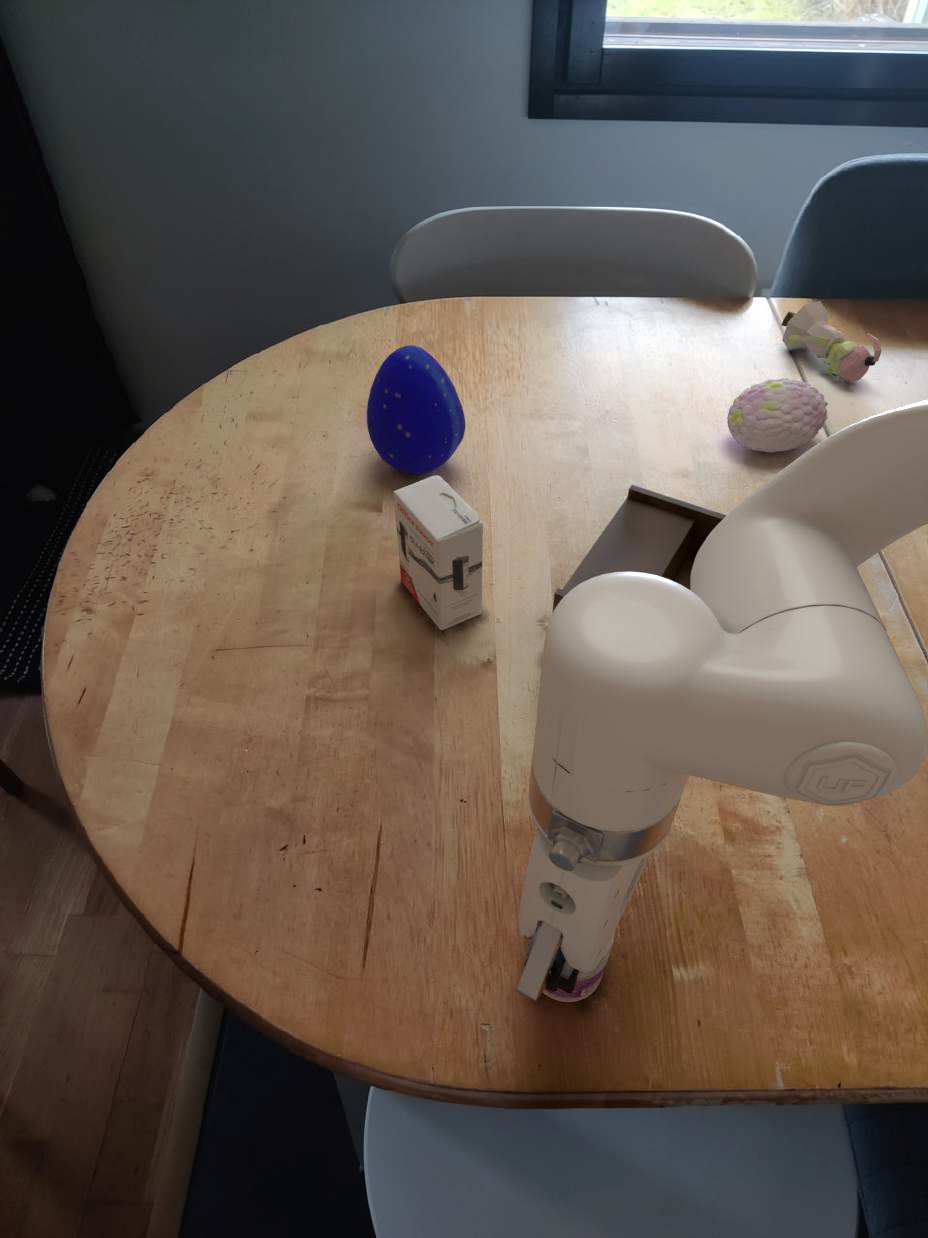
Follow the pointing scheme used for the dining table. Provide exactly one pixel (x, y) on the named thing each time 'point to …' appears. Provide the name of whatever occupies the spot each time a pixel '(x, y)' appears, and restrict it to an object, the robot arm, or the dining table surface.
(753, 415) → the decorative item
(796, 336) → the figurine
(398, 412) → the ornament
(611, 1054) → the dining table surface
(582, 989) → the pill bottle
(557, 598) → the brown open box
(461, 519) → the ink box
